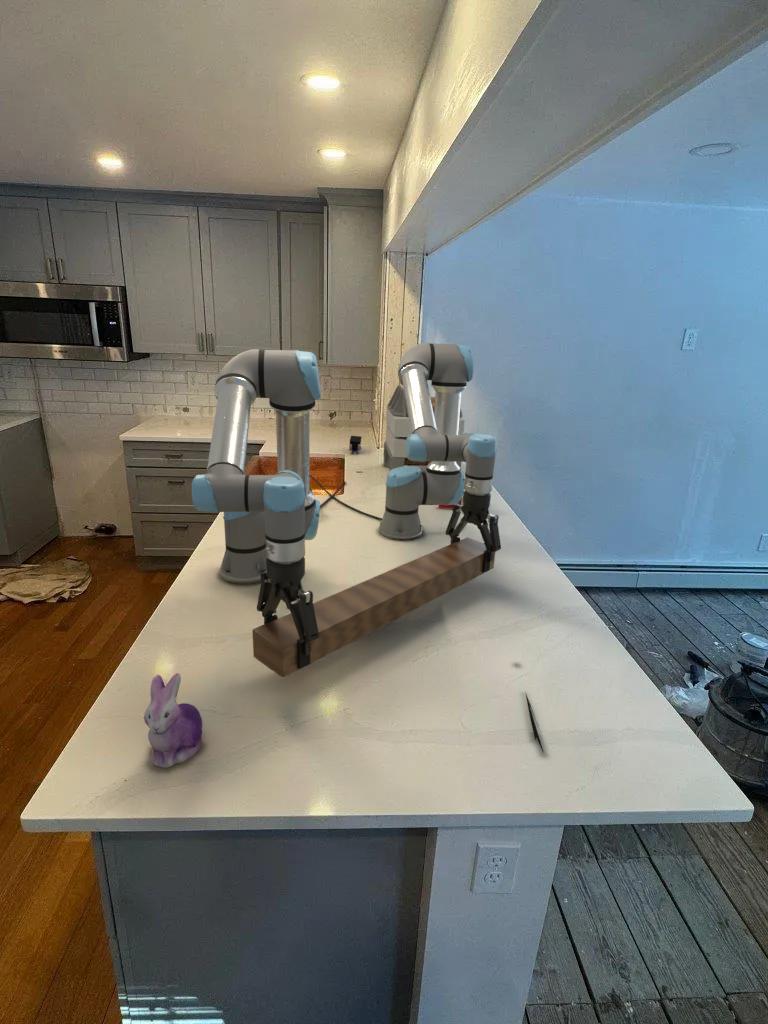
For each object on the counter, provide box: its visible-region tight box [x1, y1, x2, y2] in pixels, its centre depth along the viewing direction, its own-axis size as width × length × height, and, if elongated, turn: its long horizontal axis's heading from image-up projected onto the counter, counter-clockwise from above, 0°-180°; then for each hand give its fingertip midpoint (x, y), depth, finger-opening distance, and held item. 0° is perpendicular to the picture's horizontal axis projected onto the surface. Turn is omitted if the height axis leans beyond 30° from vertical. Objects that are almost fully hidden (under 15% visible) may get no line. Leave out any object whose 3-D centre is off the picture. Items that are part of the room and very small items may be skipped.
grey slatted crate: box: [383, 384, 465, 472], centre depth 268 cm, size 34×33×41 cm
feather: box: [525, 691, 547, 753], centre depth 115 cm, size 2×28×2 cm
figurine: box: [143, 672, 203, 768], centre depth 97 cm, size 9×10×15 cm
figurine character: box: [348, 435, 363, 455], centre depth 309 cm, size 7×8×15 cm
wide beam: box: [251, 536, 496, 679], centre depth 139 cm, size 75×10×7 cm, turn 137°
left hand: (287, 654), depth 118 cm, fingers closed on wide beam, 10 cm apart
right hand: (469, 565), depth 163 cm, fingers closed on wide beam, 10 cm apart
